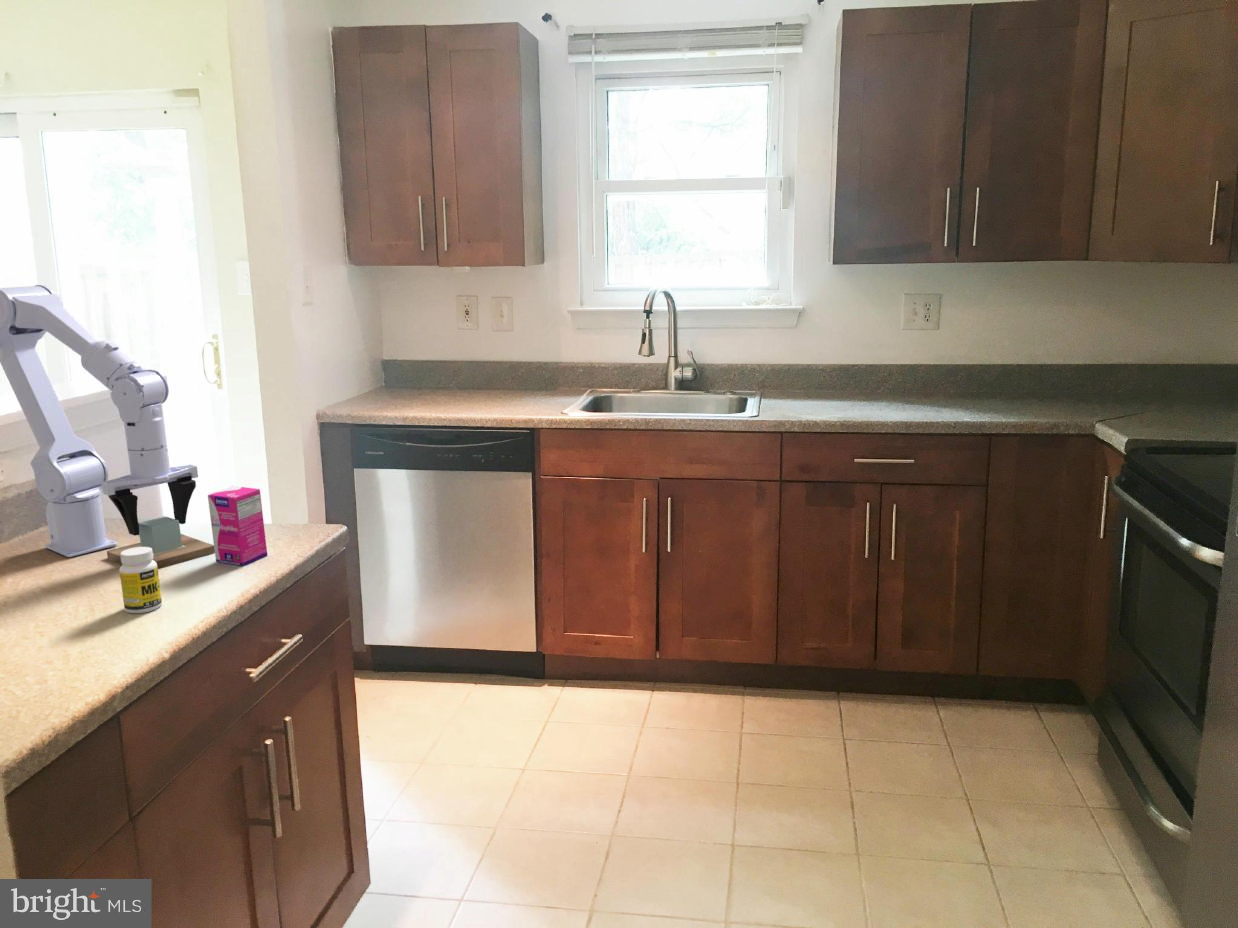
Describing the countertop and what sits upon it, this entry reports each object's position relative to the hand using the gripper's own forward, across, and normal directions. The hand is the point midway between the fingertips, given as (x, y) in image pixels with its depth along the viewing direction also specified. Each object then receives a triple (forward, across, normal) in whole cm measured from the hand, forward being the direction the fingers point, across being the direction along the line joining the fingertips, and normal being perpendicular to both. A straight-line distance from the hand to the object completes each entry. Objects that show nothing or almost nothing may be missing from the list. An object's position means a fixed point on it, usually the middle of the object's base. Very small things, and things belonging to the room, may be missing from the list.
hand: (157, 528), depth 154 cm
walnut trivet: (+5, 0, 0) cm, 5 cm away
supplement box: (+5, +7, -13) cm, 15 cm away
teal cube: (+3, 0, 0) cm, 3 cm away
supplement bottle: (+5, -13, -21) cm, 25 cm away
